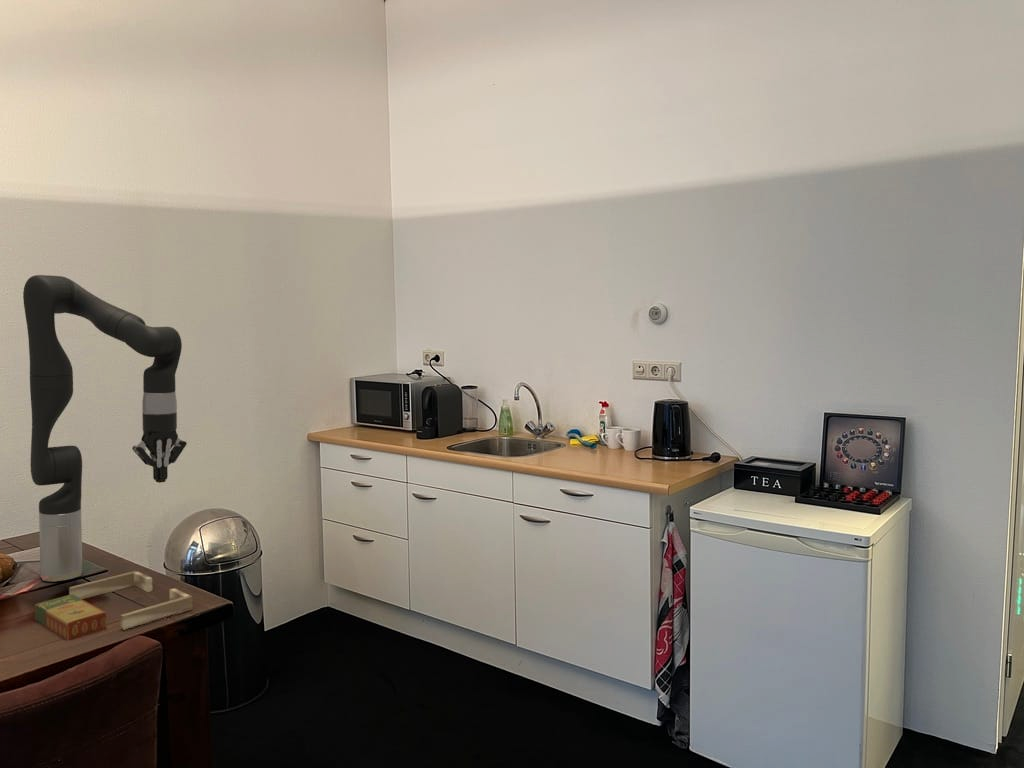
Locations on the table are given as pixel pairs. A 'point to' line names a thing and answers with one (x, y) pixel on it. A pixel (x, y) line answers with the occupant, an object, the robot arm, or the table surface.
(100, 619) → the carton
